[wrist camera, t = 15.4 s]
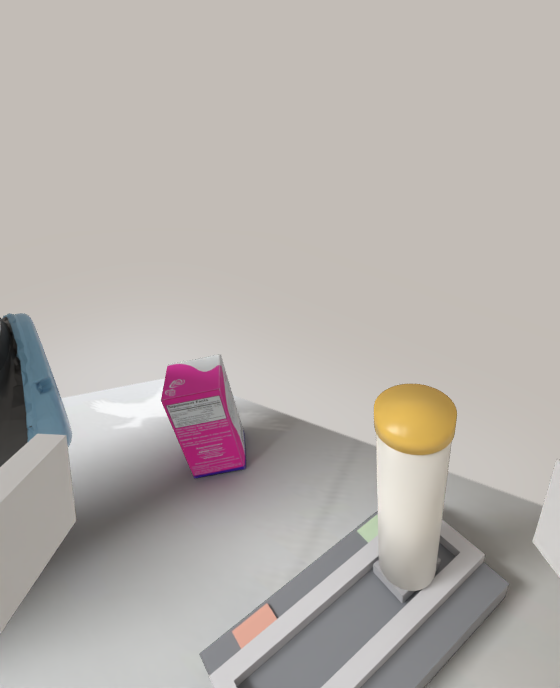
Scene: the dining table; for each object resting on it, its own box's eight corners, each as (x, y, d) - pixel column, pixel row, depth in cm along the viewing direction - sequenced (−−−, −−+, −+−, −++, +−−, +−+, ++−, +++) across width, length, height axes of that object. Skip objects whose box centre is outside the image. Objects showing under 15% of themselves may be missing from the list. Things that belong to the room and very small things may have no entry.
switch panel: (286, 841, 22) (278, 831, 21) (206, 665, 30) (195, 647, 28) (505, 597, 31) (511, 576, 29) (400, 506, 38) (400, 485, 36)
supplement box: (194, 440, 49) (166, 362, 42) (244, 431, 49) (224, 352, 42) (191, 480, 44) (159, 399, 38) (246, 470, 44) (223, 387, 38)
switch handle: (409, 613, 29) (419, 452, 20) (365, 565, 32) (357, 408, 23) (448, 574, 30) (474, 410, 21) (403, 532, 33) (410, 374, 24)
